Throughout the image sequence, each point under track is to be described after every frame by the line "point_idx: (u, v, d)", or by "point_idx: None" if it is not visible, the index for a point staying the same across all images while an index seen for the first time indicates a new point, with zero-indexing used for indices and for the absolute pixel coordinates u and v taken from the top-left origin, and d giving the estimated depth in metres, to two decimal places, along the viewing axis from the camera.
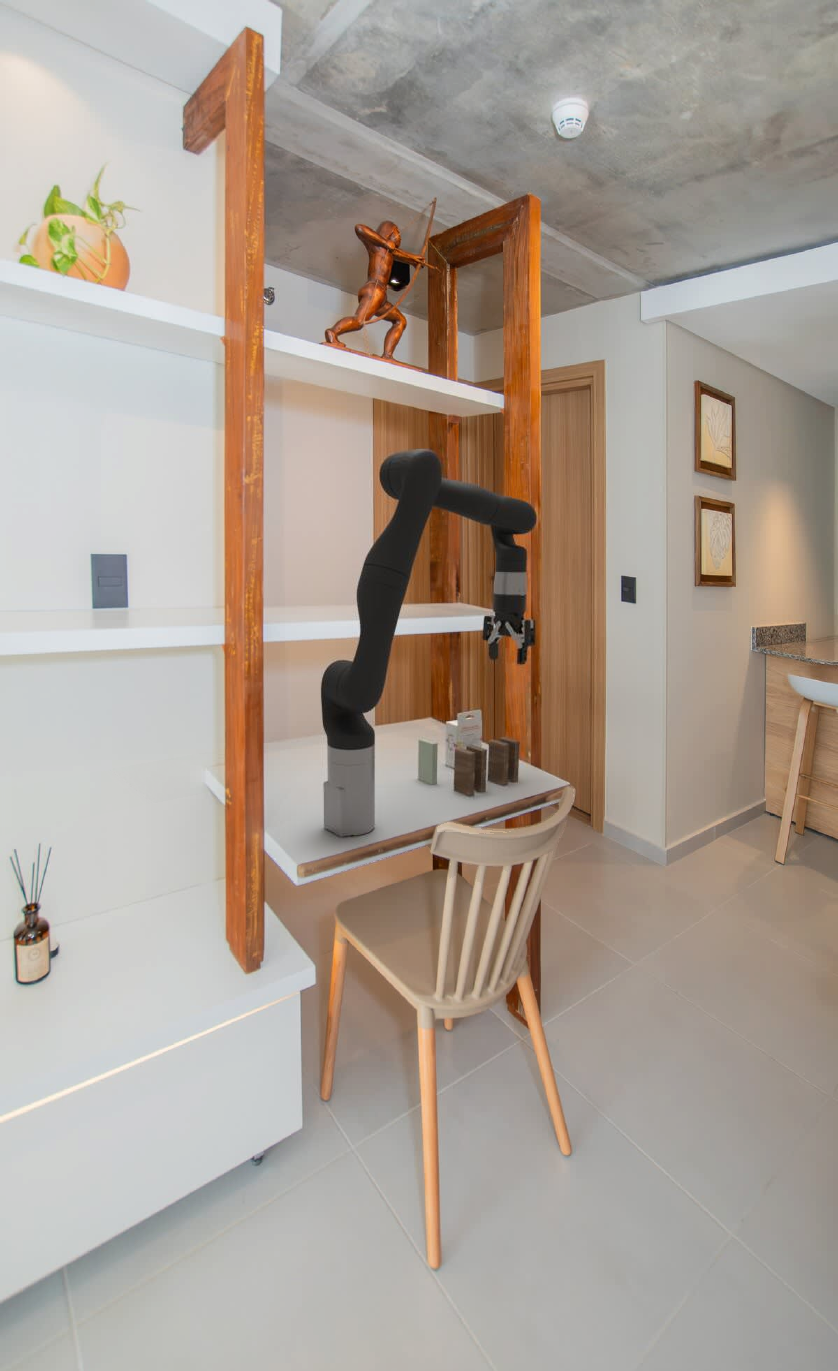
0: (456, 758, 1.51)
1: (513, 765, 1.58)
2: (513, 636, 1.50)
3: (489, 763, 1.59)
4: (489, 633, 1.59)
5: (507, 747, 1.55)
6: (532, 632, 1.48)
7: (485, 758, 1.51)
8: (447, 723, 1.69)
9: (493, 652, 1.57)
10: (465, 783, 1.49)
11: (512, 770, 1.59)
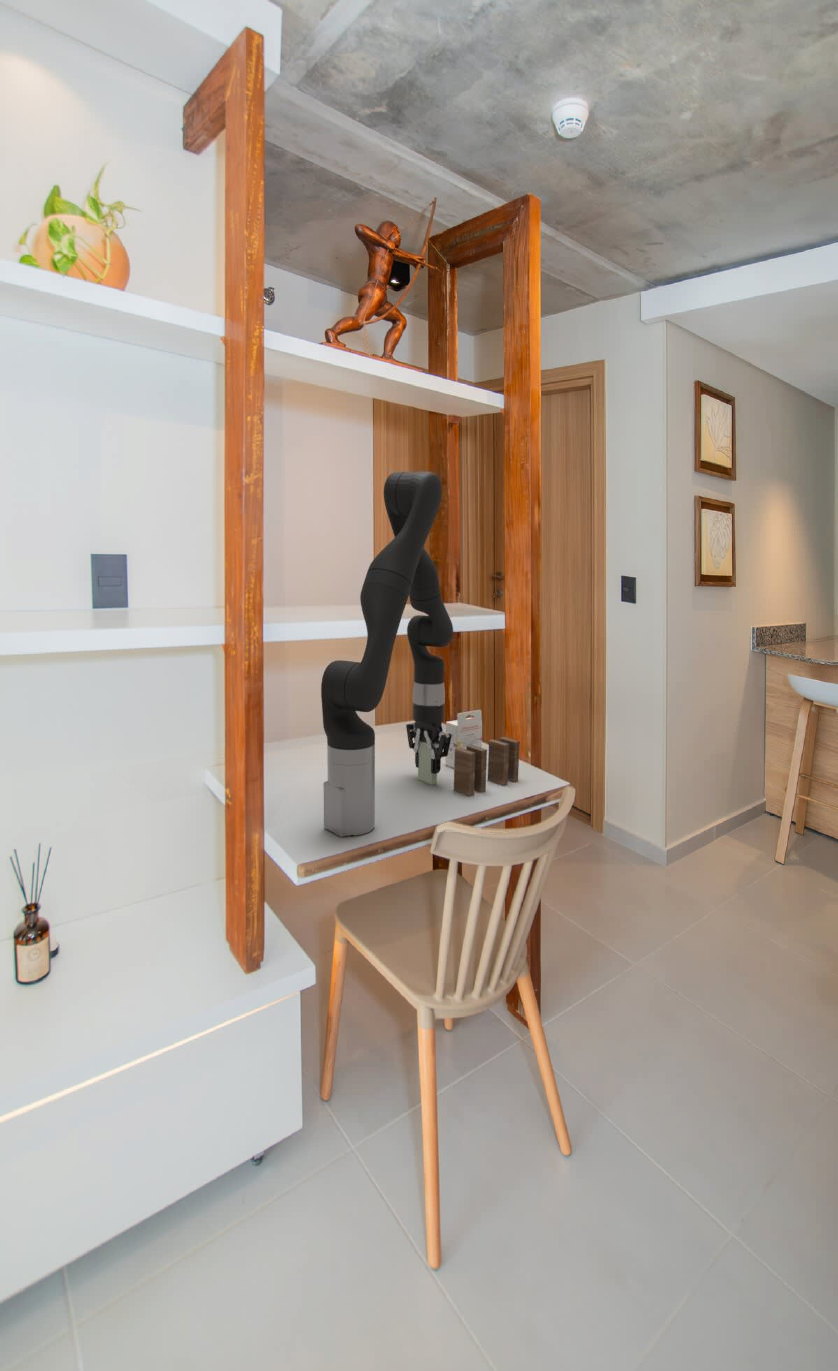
0: (456, 758, 1.51)
1: (513, 765, 1.58)
2: (428, 746, 1.54)
3: (489, 763, 1.59)
4: None
5: (507, 747, 1.55)
6: (446, 746, 1.52)
7: (485, 758, 1.51)
8: (447, 723, 1.69)
9: None
10: (465, 783, 1.49)
11: (512, 770, 1.59)
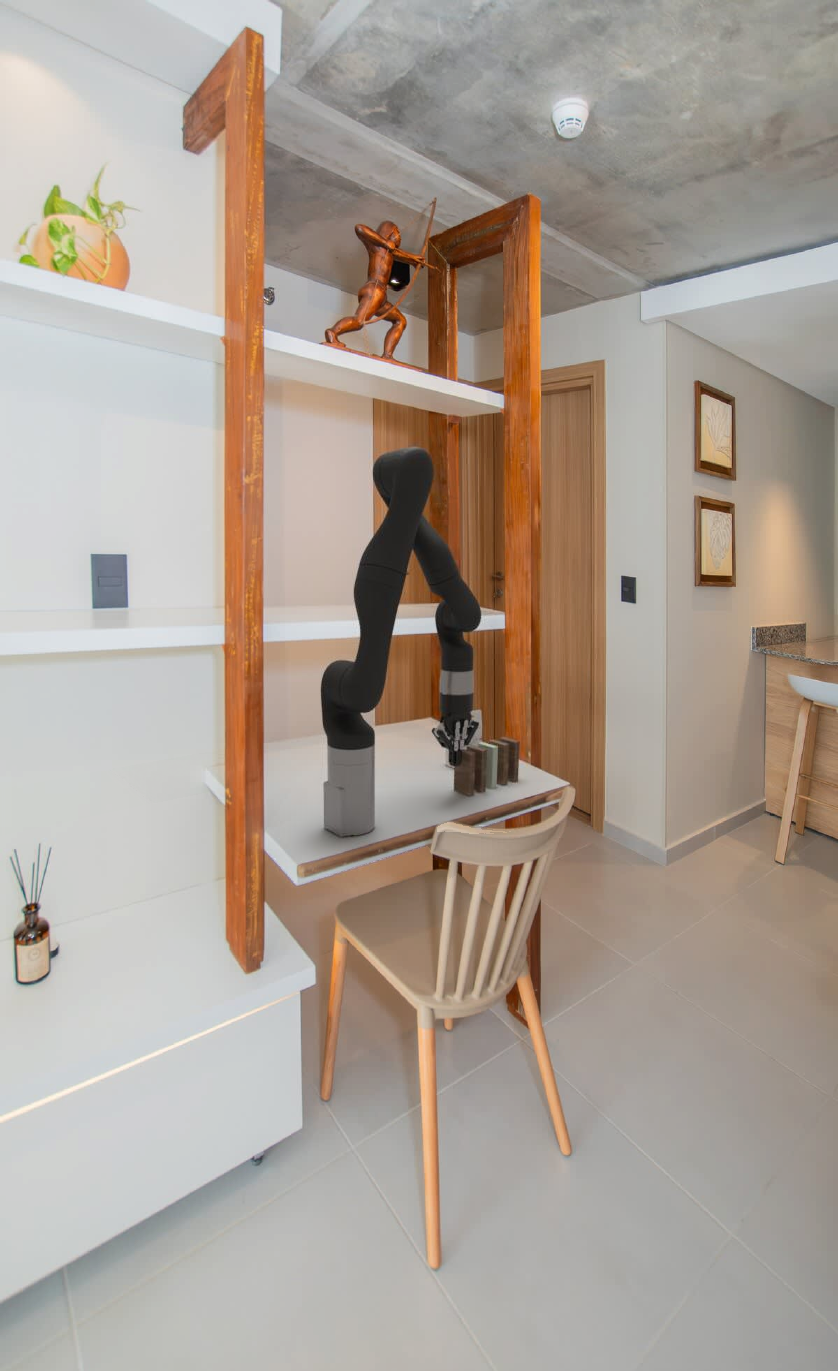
0: None
1: (513, 765, 1.58)
2: None
3: None
4: None
5: (507, 747, 1.55)
6: (441, 740, 1.44)
7: (485, 758, 1.51)
8: None
9: None
10: (465, 783, 1.49)
11: (512, 770, 1.59)
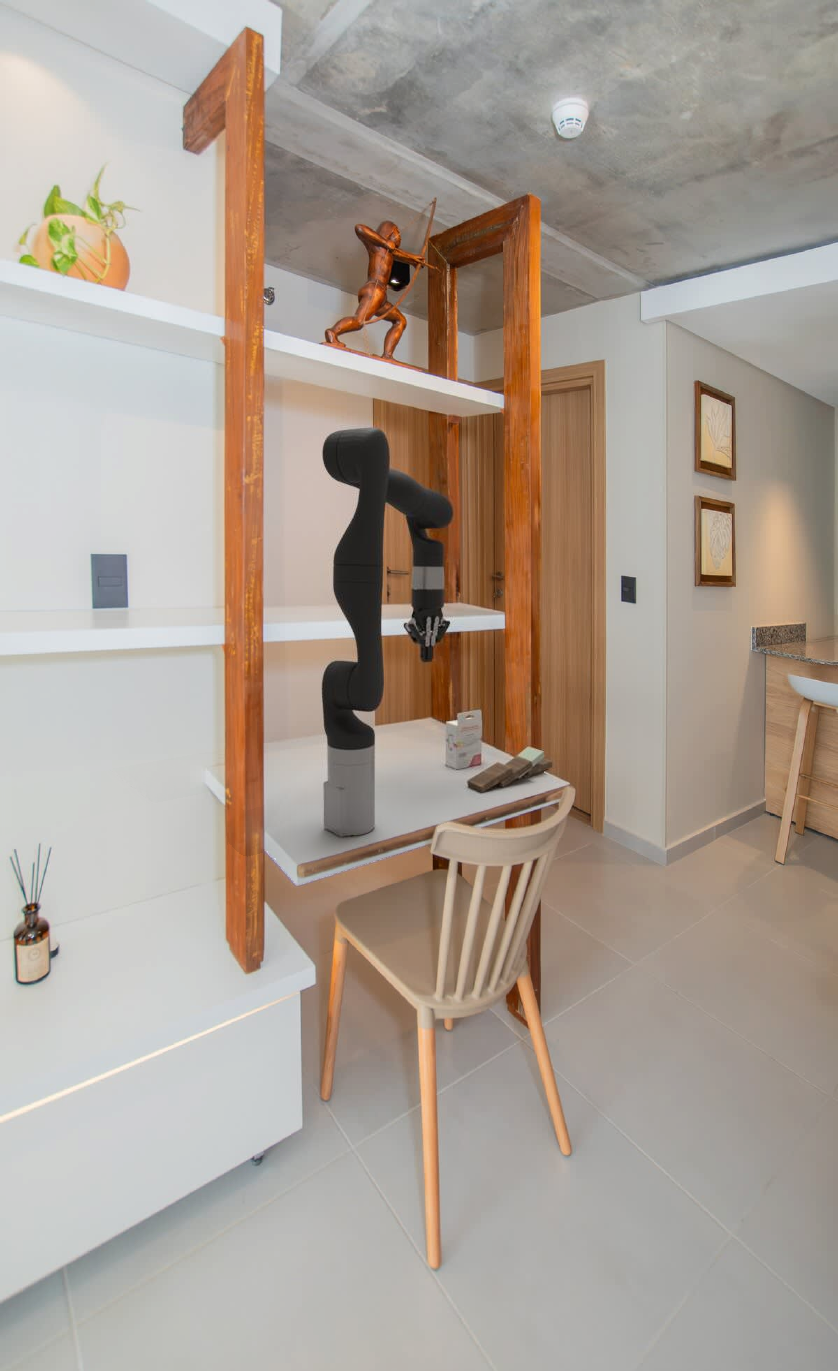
0: (493, 766, 1.58)
1: None
2: None
3: None
4: None
5: (550, 765, 1.68)
6: (412, 635, 1.50)
7: (526, 769, 1.58)
8: (447, 723, 1.69)
9: None
10: (486, 780, 1.53)
11: None
